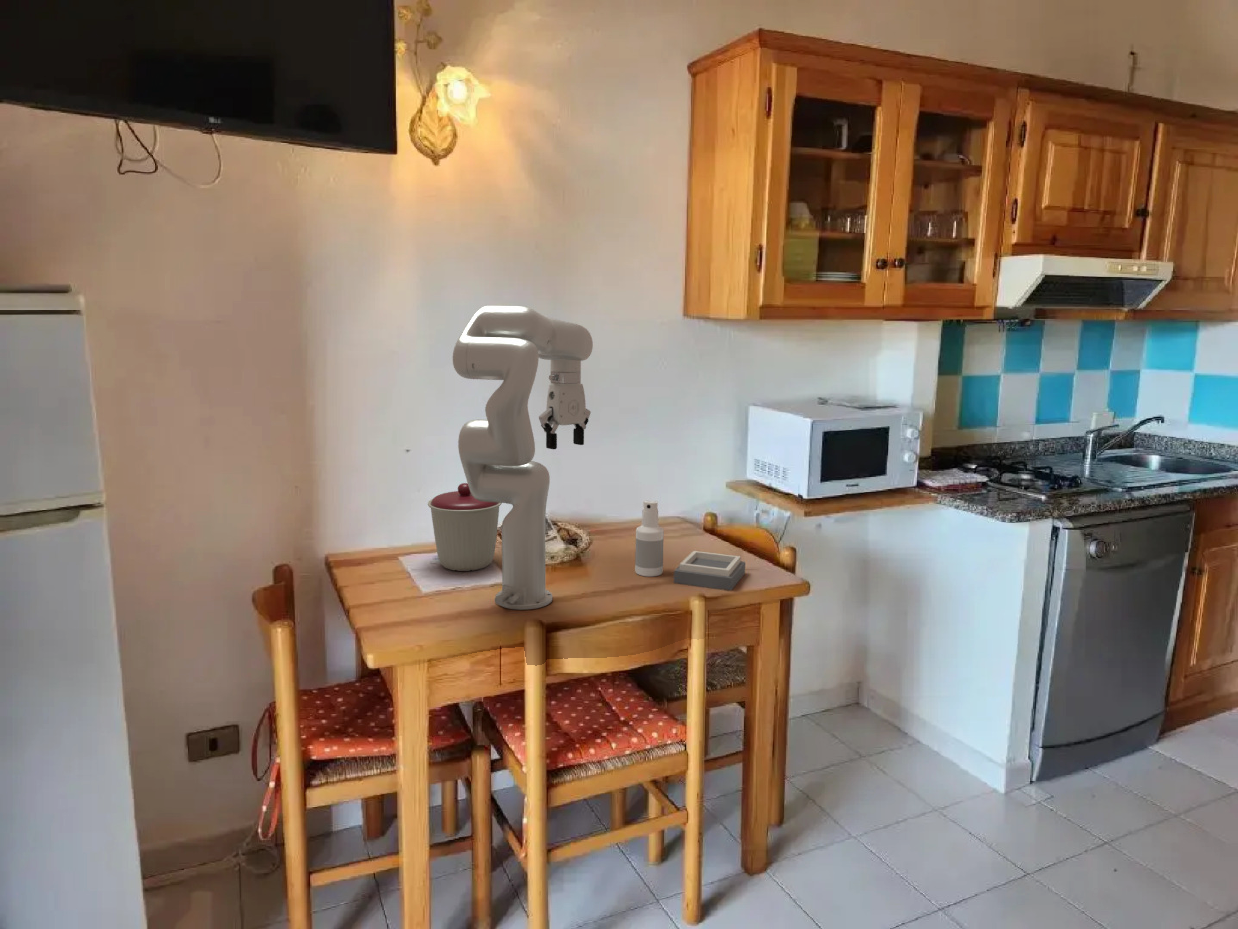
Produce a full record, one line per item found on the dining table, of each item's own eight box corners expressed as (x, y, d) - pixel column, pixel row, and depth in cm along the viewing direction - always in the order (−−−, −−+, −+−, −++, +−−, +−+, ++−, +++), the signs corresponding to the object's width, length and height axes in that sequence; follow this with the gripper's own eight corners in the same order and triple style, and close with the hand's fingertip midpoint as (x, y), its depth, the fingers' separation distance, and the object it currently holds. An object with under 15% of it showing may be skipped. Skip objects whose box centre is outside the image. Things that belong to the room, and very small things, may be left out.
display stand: (731, 590, 198) (732, 572, 197) (673, 582, 202) (674, 564, 202) (744, 573, 210) (745, 555, 210) (690, 566, 215) (690, 549, 214)
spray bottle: (631, 575, 208) (633, 503, 204) (639, 567, 214) (640, 497, 211) (658, 578, 206) (660, 506, 202) (665, 570, 212) (667, 499, 209)
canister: (416, 563, 214) (413, 482, 210) (477, 550, 226) (476, 473, 222) (453, 581, 201) (451, 495, 197) (516, 567, 213) (516, 484, 209)
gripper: (551, 381, 203) (551, 452, 206) (600, 377, 216) (599, 444, 219) (529, 379, 208) (529, 448, 211) (578, 376, 220) (578, 441, 224)
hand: (565, 446), depth 215 cm, fingers open, 9 cm apart
